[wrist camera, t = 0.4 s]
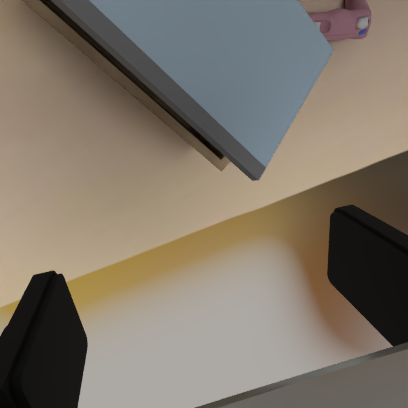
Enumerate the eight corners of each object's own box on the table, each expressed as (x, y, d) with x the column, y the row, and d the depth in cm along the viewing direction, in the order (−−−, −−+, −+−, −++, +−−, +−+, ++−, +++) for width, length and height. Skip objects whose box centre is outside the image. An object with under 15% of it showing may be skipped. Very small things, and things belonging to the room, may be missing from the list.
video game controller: (272, 31, 38) (296, 55, 34) (279, -12, 34) (307, 9, 30) (343, 24, 39) (375, 46, 35) (357, -18, 36) (394, 1, 32)
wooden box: (108, -133, 28) (91, -262, 17) (271, 60, 38) (325, 53, 27) (24, -6, 30) (-37, -51, 20) (198, 146, 40) (221, 171, 29)
